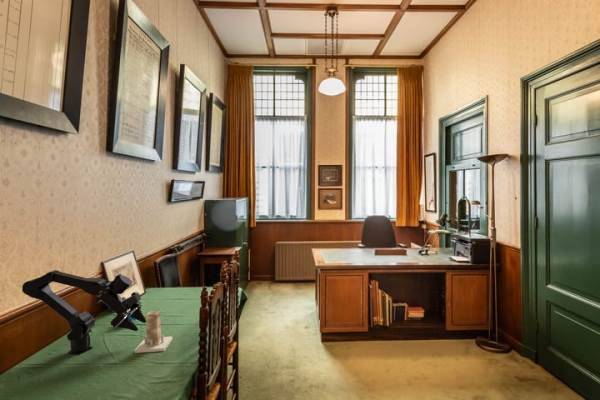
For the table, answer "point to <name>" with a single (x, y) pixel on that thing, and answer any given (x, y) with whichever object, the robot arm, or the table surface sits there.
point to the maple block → (153, 327)
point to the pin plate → (153, 348)
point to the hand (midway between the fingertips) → (141, 326)
